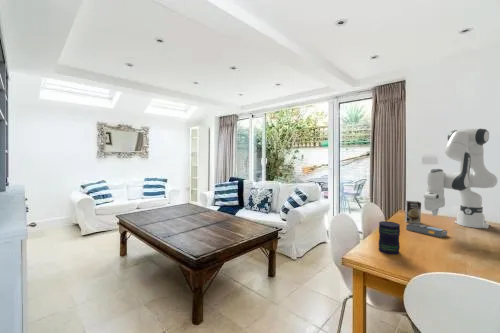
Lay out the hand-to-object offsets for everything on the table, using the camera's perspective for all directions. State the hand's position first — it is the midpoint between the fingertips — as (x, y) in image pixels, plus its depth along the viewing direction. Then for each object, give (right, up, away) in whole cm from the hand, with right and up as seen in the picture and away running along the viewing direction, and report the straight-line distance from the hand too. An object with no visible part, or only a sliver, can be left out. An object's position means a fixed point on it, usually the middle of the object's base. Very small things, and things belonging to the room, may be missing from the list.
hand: (434, 215), depth 158 cm
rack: (-3, -12, +4) cm, 13 cm away
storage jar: (-46, -14, -27) cm, 55 cm away
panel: (0, -12, 0) cm, 12 cm away
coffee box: (+5, -12, +29) cm, 32 cm away
